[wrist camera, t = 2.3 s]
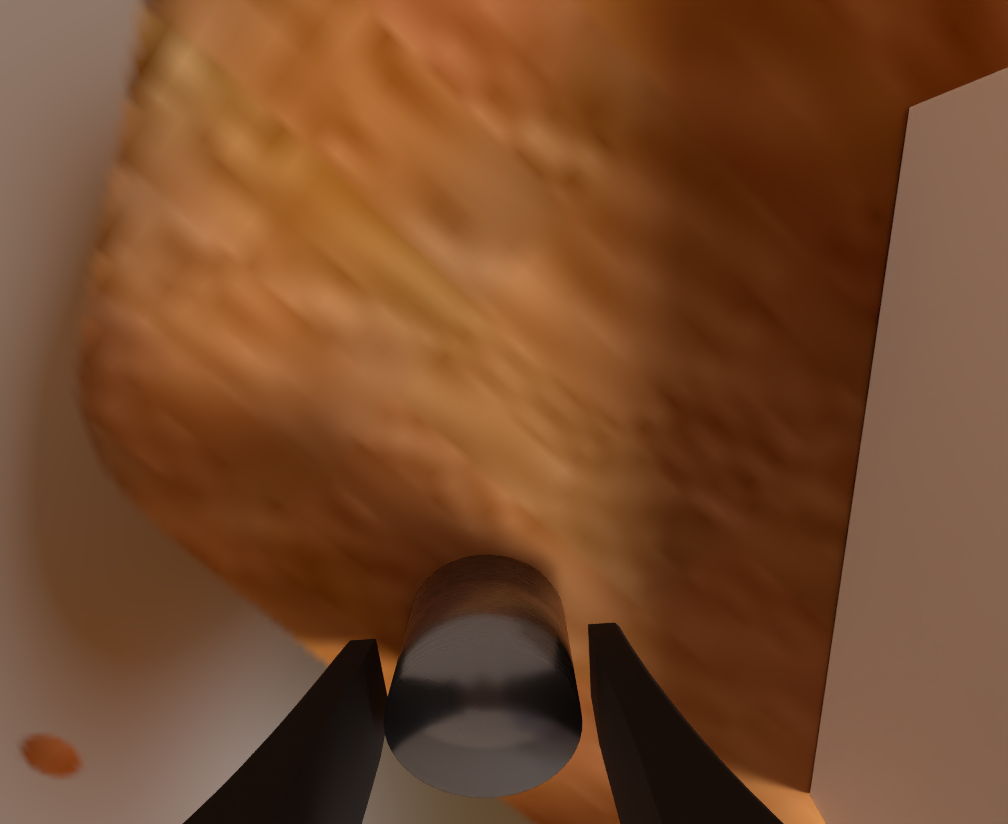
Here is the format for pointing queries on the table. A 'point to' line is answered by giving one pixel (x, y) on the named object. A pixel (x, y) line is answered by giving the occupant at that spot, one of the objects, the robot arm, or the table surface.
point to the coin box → (930, 498)
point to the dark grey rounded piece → (484, 681)
